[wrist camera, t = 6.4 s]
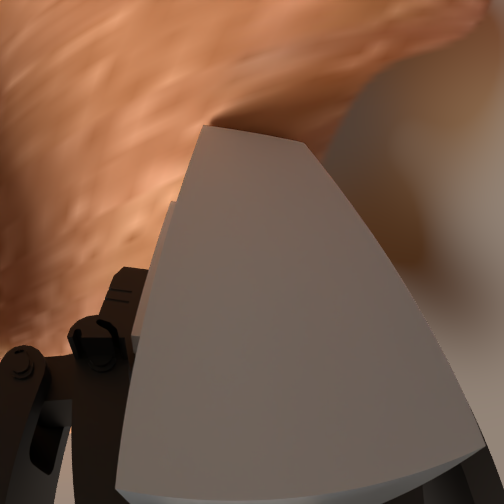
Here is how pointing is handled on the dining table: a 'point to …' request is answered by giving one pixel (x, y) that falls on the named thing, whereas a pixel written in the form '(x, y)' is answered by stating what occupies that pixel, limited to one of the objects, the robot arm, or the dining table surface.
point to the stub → (282, 347)
